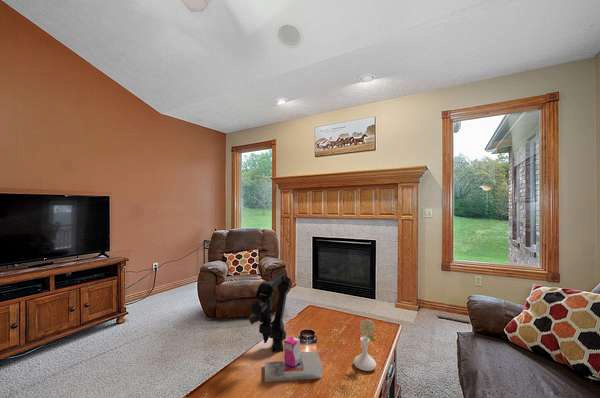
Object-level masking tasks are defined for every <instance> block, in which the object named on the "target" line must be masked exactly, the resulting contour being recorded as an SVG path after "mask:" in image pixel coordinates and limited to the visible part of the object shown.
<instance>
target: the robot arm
mask: <svg viewBox="0 0 600 398" xmlns="http://www.w3.org/2000/svg"><path fill="white" fill-rule="evenodd" d="M292 286H293V281H292V279H291V278H289V277H288V276H287V275H286V274H285V273H279V272H278V273H276V274H275V276H273V277H272V278H271V279H270V280H268V281H263V282H261V283H260V284H259V285H258V288H257V291H256V294H255V299H256V300H254V301H255V302H254V303H253V304H252V305H251V308H250V309H251V313H252V314H250V315H249V316H248V320H249V323H250V325H253V324H255V323H258V322H259V323H260V324H259V327H258V329H259V330H258V332H259V333H260V334H262V338H263V343H264V344H267V343H268V340H269V339H272V344H271V352H284V340H286V339H287V338H286V337H287V332H286V331H285V324H284V321H283V318H284V314H285V307H286V302H287V295H288V293H290V291H291V288H292ZM275 288H276V289H277V292H278V297H277V304H276V307H275V314H274V317H273V316H272V314H273V313H272V306H273V305H272V301H273V300H272V298H273V297H274V296H273V295H274V293H275ZM272 317H273V318H274V319H273V320H272Z"/></svg>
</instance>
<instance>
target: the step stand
mask: <svg viewBox="0 0 600 398" xmlns="http://www.w3.org/2000/svg"><path fill="white" fill-rule="evenodd" d="M300 362H301V363H299V364H298V365H297V366H295V367H294V368H292V367H290V366H288V365H286V364H285V356H282V360H280V361H266V362H264V383H267V382H268V383H271V382H272V383H273V382H282V381H284V382H285V381H296V380H297V381H298V380H300V381H301V380H316V379H322V378H323V363H322V361H321V357H320V355H319V352H318V351H300Z"/></svg>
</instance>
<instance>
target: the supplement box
mask: <svg viewBox="0 0 600 398" xmlns="http://www.w3.org/2000/svg"><path fill="white" fill-rule="evenodd" d="M300 339H301V338H297V337H295V336H292V335H291V336H289V337H288V338H286V339H284V340H283V352H284V353H283V354H284V357H285V364H286V365H288V366H290V367H292V368H294V367H295V366H297V365H298V364H299V363H301V362H300V352H301V340H300Z"/></svg>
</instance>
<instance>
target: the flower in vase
mask: <svg viewBox="0 0 600 398" xmlns="http://www.w3.org/2000/svg"><path fill="white" fill-rule="evenodd" d="M375 330H376V328H375V323H374V322H373V321H372V320H371V319H367V318H365V319H362V321H361V322H360V324H359V331H360V333H361V334H362V336H361V337H359V339H360V341H361V345H362V352H361V353H360V354H358V355H356V356H355V357H354V359H353V365H354V366H355V367H356V368H357V369H359V370H360V371H361V370H362V371H367V372H371V371H373V370H375V368H376V367H377V363H376V360H375V359H374V358H373V357H372V356H371V355H370V354H368V344H369V342H370V341H371V342H376V340H375V337H374V336H373V333H374V331H375Z"/></svg>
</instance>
